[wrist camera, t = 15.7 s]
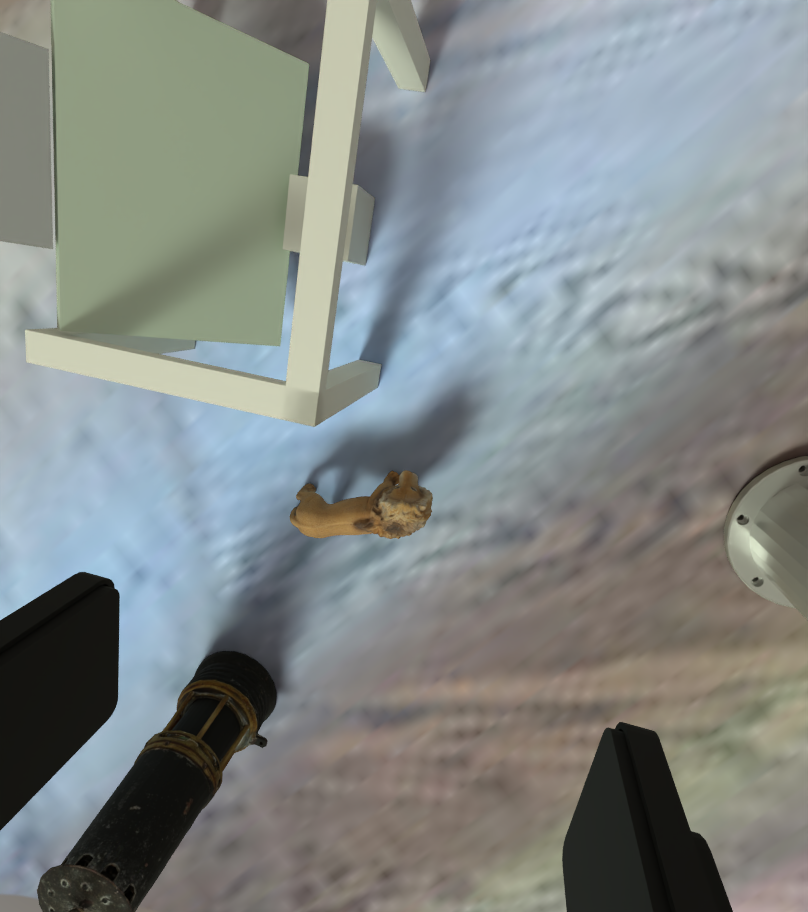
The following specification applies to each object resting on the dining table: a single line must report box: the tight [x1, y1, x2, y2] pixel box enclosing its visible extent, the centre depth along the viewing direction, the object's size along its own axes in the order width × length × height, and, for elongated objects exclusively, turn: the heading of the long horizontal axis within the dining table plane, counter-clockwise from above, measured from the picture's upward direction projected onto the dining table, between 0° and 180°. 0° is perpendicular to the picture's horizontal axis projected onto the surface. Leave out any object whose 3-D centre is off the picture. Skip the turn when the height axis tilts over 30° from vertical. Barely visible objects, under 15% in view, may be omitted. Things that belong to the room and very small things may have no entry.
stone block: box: [283, 174, 375, 265], centre depth 40 cm, size 5×5×5 cm
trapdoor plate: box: [0, 0, 309, 346], centre depth 32 cm, size 29×19×4 cm
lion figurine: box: [290, 470, 433, 539], centre depth 44 cm, size 15×5×9 cm, turn 110°
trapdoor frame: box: [25, 0, 431, 427], centre depth 36 cm, size 19×24×16 cm
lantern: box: [37, 651, 276, 912], centre depth 43 cm, size 9×9×30 cm
